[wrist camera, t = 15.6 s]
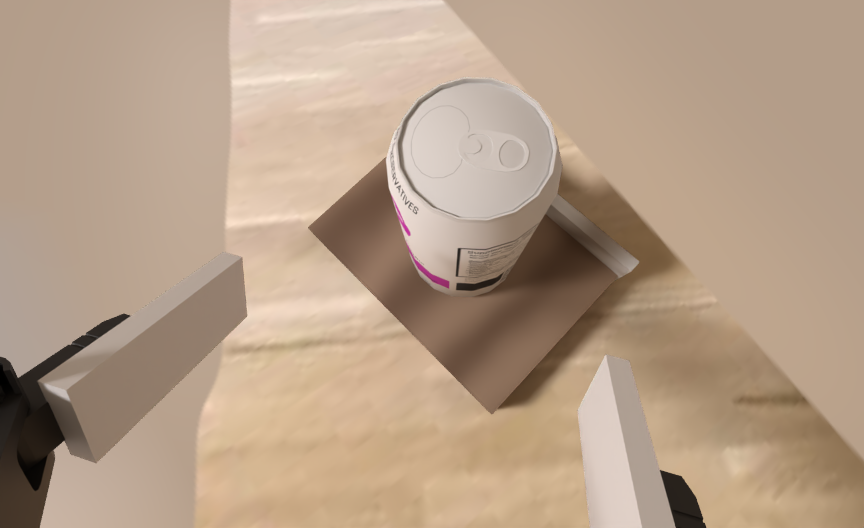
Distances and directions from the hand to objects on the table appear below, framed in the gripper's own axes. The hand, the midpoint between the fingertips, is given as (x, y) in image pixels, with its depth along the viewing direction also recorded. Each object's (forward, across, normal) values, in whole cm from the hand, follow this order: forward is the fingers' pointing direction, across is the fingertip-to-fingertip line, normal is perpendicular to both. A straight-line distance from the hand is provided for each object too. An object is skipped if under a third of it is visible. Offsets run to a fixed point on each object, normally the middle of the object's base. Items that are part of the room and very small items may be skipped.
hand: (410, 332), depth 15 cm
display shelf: (+19, 0, -8) cm, 21 cm away
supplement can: (+18, 0, -5) cm, 19 cm away
